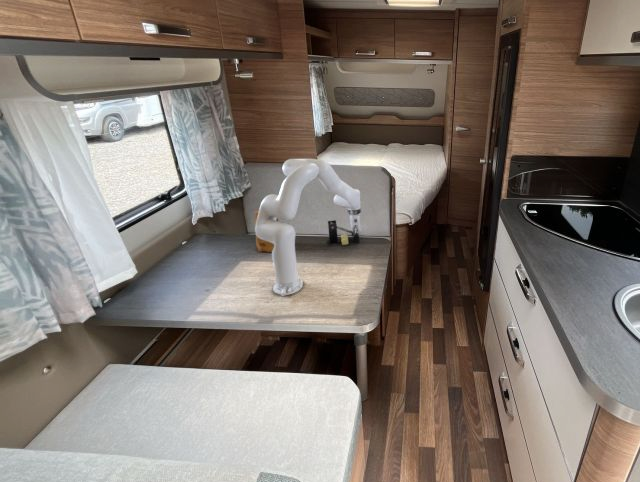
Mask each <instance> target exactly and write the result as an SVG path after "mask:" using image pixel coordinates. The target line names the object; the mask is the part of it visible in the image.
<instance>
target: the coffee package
mask: <svg viewBox="0 0 640 482" xmlns="http://www.w3.org/2000/svg"><path fill="white" fill-rule="evenodd" d="M258 213H259V210H258V211H257V210H256V211H255V213H254V214H255V215H254V228H255V227H256V222H257V217H258ZM276 221H279V218H277V219H276ZM255 242H256V243H255V244H256V247H257V251H258V253H261V252H266V253H272V251H273V248H274V244H273V243H270V242H268V241H265V240H262V239H260V238H258V237H257V236H256V235H255Z"/></svg>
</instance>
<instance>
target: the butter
mask: <svg viewBox="0 0 640 482" xmlns="http://www.w3.org/2000/svg"><path fill="white" fill-rule="evenodd" d="M340 240H341V241H340V242H341V246H344V245H349V236H348V233H342V234H340Z"/></svg>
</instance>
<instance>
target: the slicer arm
mask: <svg viewBox="0 0 640 482" xmlns="http://www.w3.org/2000/svg"><path fill="white" fill-rule="evenodd" d="M330 224H333V222H331V223H330ZM337 230H340V231H344V232H346V233H349V234H351V236H352V235H353V236H354V233H353V232H352V230H349V229H347V228H345V227H342V226H339V225H337ZM353 236H352V237H353Z"/></svg>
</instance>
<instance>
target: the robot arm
mask: <svg viewBox="0 0 640 482" xmlns="http://www.w3.org/2000/svg"><path fill="white" fill-rule="evenodd" d="M281 167H282V172H283V175H284V176H286V177H285V178H284V180H283V181H282V183H281V186H280V189H279V192H278V194H276V193H271V194H268V195H266V196H265V197H264V198H263V199H262V200H261V202H260V206H259V208H258V212H259V213H258V217H257V222H256V227H255V226H254V233H255V237H256V236H257V237H258V238H260V239H262V240H265V241H268V242H270V243H273V244H274V248H273V251H272V252H271V259H272V264H273V272H274V278H275V283H274V284H273V287H272V291H273V293H274V294H276V295H278V296H282V297H285V296H289V295H292V294H295V293H298V292H299V291H300V290H301V289H302V288H303V286H304V281H303V279H301V278H300V277H299V270H298V264H297V263H298V262H297V253H296V235H297V234H296V230H295V227H294V226H292V225H291V224H289V223H287V222H284V221H281V220H287V221H289V220H293V219H294V218H295V217H296V215H297V212H298V208H299V205H300V204H299V203H300V200H301V195H302V191H303V190H304V188H305V186H306V185H307V184H308V183H310V182H311V181H313V180H315V179H317V180H318V181H319V183H321V185H322V186H323V188H324V189H325V190H326V191H327V192H329V193H331V194H333V195H334V197H333V199H332V200H333V204H334V205H335V206H337V207H341V208H345V209H346V210H347V211H346V212H347V213H346V214H347V215H348V216H349V224H350V228H351V231H352V232H353V233H354V236H353V235H352V234H351V236H352V237H353V238H352V239H353V243H360V234H359V232H361V231H362V229H361V214H362V203H361V191H360V190H359V189H358V188H353V187H352V186H351V185H349V184H348V183H346V182H345V181H343V180H342V179H341V178H340V177H339V176H338V174H337V173H336V171H335V170H334V168H333V167H332V165H331V164H330V163H329V162H328V161H326V160H323V159H316V158H288V159H286V160H285V161H284V162H283V164H282V166H281ZM277 218H278V219H281V220H278V221H276V219H277Z"/></svg>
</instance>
